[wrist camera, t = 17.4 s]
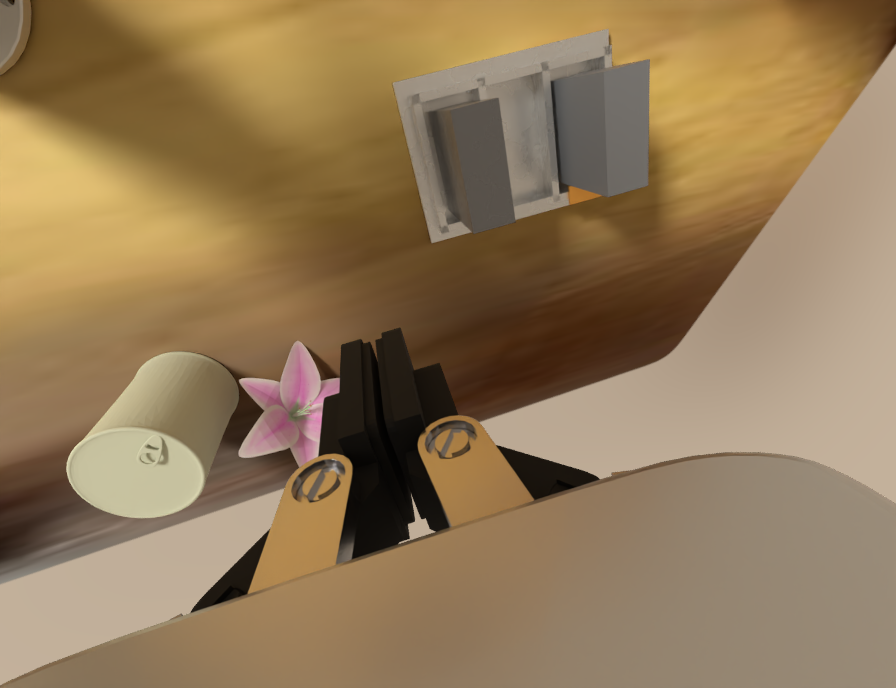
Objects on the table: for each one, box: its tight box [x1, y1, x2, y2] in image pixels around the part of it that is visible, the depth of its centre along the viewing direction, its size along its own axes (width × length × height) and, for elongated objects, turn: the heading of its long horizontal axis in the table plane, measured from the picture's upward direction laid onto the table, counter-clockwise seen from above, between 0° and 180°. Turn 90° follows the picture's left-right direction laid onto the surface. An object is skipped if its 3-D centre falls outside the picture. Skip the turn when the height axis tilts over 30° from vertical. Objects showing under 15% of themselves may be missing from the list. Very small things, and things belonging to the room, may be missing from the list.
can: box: [67, 351, 239, 518], centre depth 37 cm, size 9×9×12 cm
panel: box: [550, 59, 650, 197], centre depth 33 cm, size 8×3×9 cm, turn 14°
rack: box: [392, 29, 612, 243], centre depth 33 cm, size 13×18×10 cm
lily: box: [239, 341, 340, 468], centre depth 42 cm, size 12×12×10 cm
